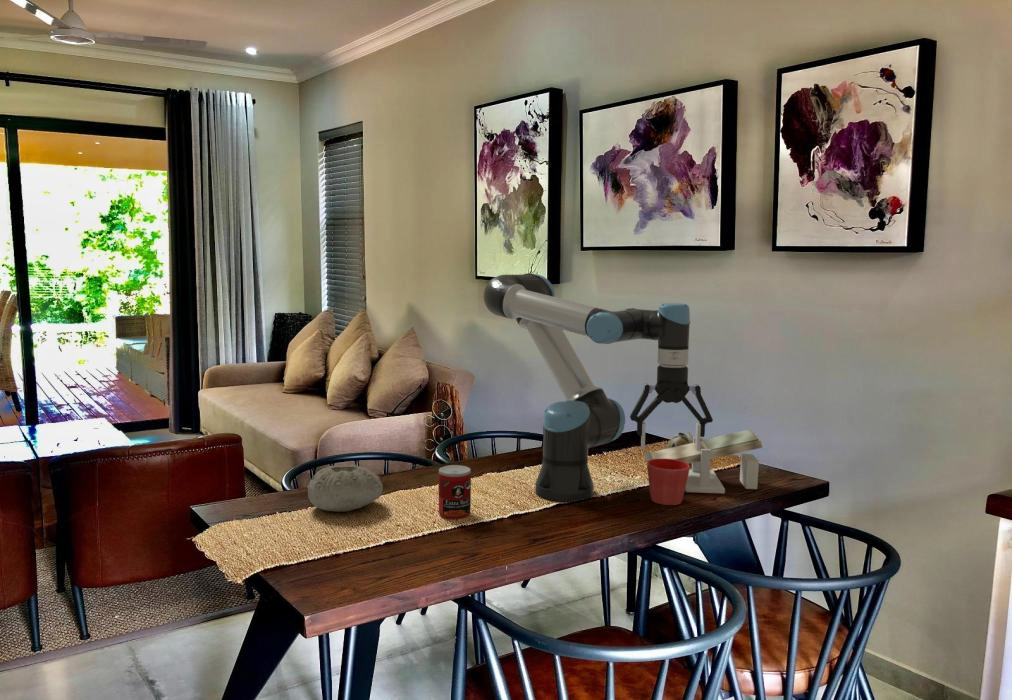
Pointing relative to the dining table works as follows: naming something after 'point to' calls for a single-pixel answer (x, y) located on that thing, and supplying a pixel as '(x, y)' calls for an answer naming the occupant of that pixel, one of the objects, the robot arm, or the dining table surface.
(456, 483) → the canned food
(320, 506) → the decorative shell
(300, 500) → the dining table surface
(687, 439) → the ceramic sculpture
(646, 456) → the beam
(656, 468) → the flower pot
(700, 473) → the stand
